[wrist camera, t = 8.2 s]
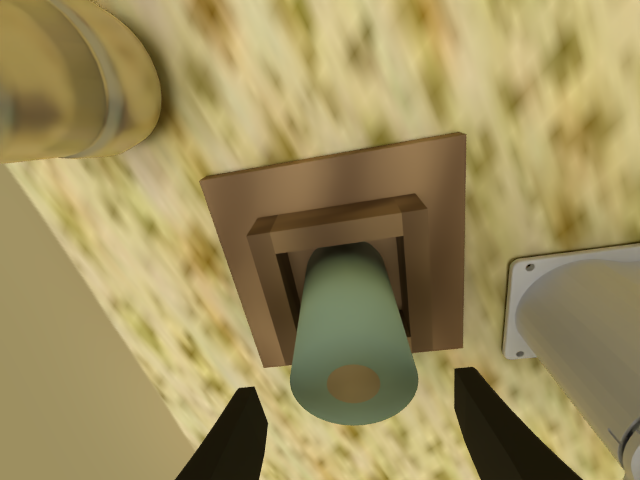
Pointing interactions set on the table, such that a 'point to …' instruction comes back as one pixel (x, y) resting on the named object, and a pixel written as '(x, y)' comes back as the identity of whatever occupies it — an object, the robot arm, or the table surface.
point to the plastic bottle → (72, 82)
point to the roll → (351, 340)
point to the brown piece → (348, 234)
